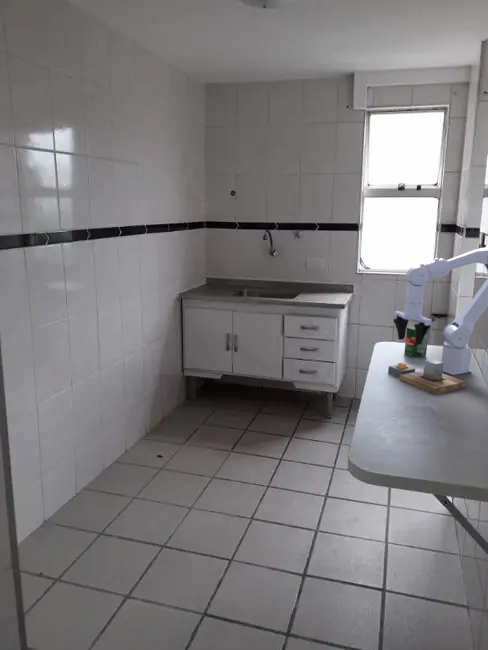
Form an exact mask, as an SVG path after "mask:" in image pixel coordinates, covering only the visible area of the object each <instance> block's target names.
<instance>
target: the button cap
mask: <svg viewBox="0 0 488 650" xmlns="http://www.w3.org/2000/svg"><path fill="white" fill-rule="evenodd" d="M407 364H408V363H405V362H398V363H397V365H398V368H400V369H406V367H407V366H408V365H407Z"/></svg>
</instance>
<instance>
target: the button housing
mask: <svg viewBox="0 0 488 650" xmlns="http://www.w3.org/2000/svg"><path fill="white" fill-rule="evenodd" d="M413 372H416V368H414V367H411V366H409V365H407V367H406V369H400V368H398V364H393V365H388V371H387V373H388V374H389V375H392V376H394V377H397V378H399V377H400V375H402V374H408V373H413Z"/></svg>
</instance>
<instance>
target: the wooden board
mask: <svg viewBox="0 0 488 650" xmlns="http://www.w3.org/2000/svg"><path fill="white" fill-rule="evenodd" d="M423 373H424V370H418V371H415V372H413V373H408V374H402V375H400V378H399V382H401V381H402V383H403V384H406V383H407V385H409V386H412V387H414V388H418V389H419V390H421V391H425V392H427V393H430V394H432V395H439V394H443V393H447V392H452V391H457V390H461V389H465V388H466V387H467V386H466V384H467V381H466V380H462V379H459V378H456V377H453V376H450V375H448V374H445V373H442V381H438V382H431V381H429V380H426V379H423Z"/></svg>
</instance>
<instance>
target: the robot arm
mask: <svg viewBox="0 0 488 650" xmlns="http://www.w3.org/2000/svg"><path fill="white" fill-rule="evenodd" d="M474 263H476V264H477V263H478V264H483V265H484V266H485V267H484V268H486V272H487V273H488V245H487V246H485V247H480V248H476V249H473V250H470V251H468V252H466V253H463V254H461V255H458V256H455V257H452V258H450V259H447V260H446V259H445V258H442V257H441V258H439V257H435V258H434V259H433V260H432V261H429V262H426V263H420V264H419V266H417V265H416V266H411V267H410V268H409V269H408V270H407V272H406V274H405V278H406V280H407V284H406V290H405V298H404V310H403V311H399V310H396V311H394V314H393V317H394V319H393V323H394V324H395V327H396V331H397V332H396V333H397V337H398V340H405V339H406V332H407V326H408V325H409V324H408V323H409V321H410V322H414V324H413V325H414V326H415V331H416V339H415V344H416V345H420V344H421V343H422V341H423V338H424V336H425V334H426V332H427V331H428V329H429V330H430V328H431V325H432V319H431V318H428V317H426V316H423V315H422V313H423V312H422V311H423V303H424V294H425V293H424V292H425V284H426V283H427V281H429V282H430V281H431V280H435V279H439V278H441V277H445V276H447V275H448V274H449V272H450V271H451V270H453V269H457V268H462V267H463V266H468V265H471V264H474ZM487 308H488V278H487V279H486V280H485V282H483V284H482V286H481V287H480V288H479V290H478V291H477V292H476V293H475V295H474V296H473V298H472V299H471V301H470V302H469V303H468V305H467V306H466V308H465V309H464V310H463V311H462V312H461V314H460V315H459V316H458V317H456V318H454V320H453V321H452V322H451V323H449V324H447V325H446V326H445V327H444V329H443V331H442V333H443V334H442V336H443V338H444V339H445V340H444V342H443V345H442V346H443V347H442V354H441V362H444V365H443V372H444V373H447V374H450V375H453V376H456V375H461V374H465V373H471V372H472V369H470V367H471V361H472V350H471V348H470V347H469V345H467V344H468V343H469V341H470V337H471V335H472V333H473V332H474V327H475V326H474V325H475V324H476V322H477V321H478V320H479V319H480V317H481V316H482V314H484V312H485V311H486V309H487Z"/></svg>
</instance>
